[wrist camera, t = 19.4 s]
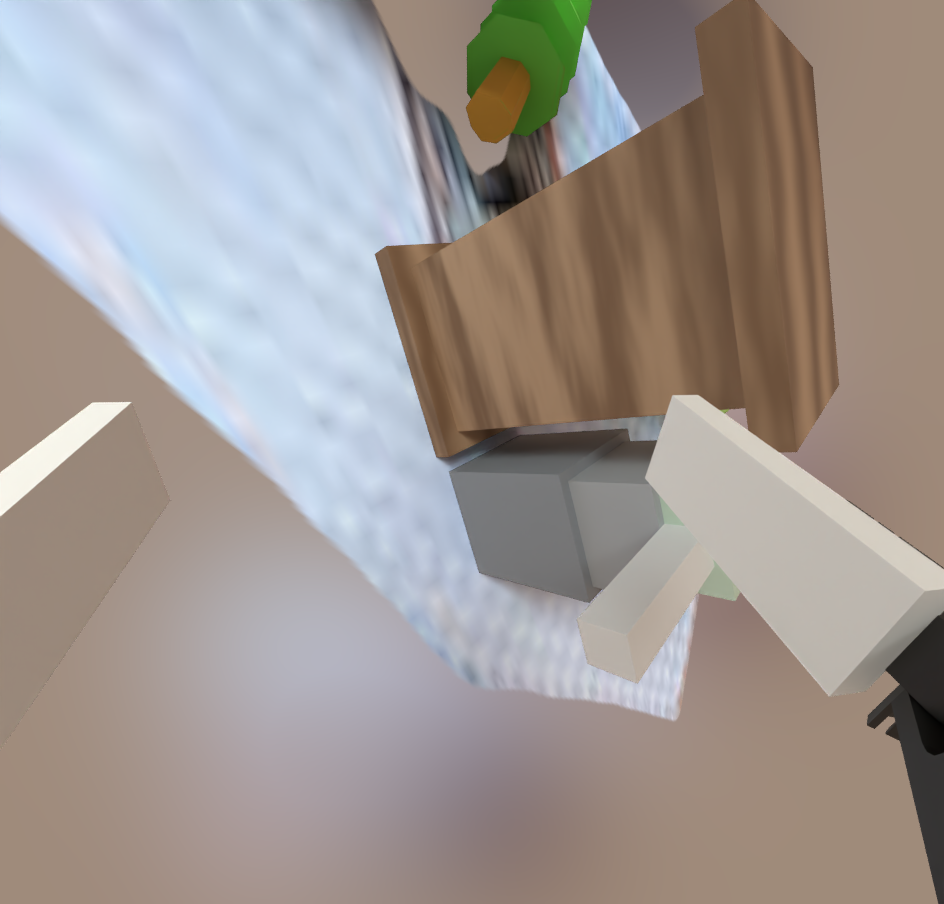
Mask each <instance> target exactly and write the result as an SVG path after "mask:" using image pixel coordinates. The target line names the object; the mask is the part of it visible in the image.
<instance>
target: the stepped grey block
mask: <svg viewBox="0 0 944 904" xmlns="http://www.w3.org/2000/svg"><path fill="white" fill-rule="evenodd" d="M656 443H657V440H654V441H630V439H629V434H628V429H614V430H598V431H582V432H566V433H550V434H534V435H520V436H518V437H516V438H514V439H512V440H510V441H508V442H506V443H504V444H502V445H500V446H498V447H497V448H495V449H493V450H491V451H489V452H487V453H485V454H483V455H481V456H479V457H477V458H475V459H473V460H471V461H469V462H467V463H465V464H463V465H461V466H459V467H457V468H456V469H454V470H452V471H450V472H449V473H450V477H451V480H452V483H453V487H454V490H455V493H456V497H457V500H458V503H459V507H460V510H461V513H462V517H463V520H464V524H465V527H466V530H467V534H468V537H469V540H470V544H471V547H472V550H473V554H474V557H475V560H476V564H477V567H478V570H479V573H483V574H487V575H490V576H494V577H497V578H501V579H505V580H508V581H512V582H515V583H519V584H523V585H526V586H530V587H534V588H537V589H541V590H544V591H548V592H552V593H555V594H559V595H563V596H566V597H570V598H573V599H577V600H581V601H584V602H588V603H590V602H591V600H592V599H593V598H594V597H595V596H596V595H597V594H598V593H599V592H600V591H601V590H602V589H605V588H606V587H607V586H608V585H609V584H610V583H611V581H612V580H613V579H614V578H615V577H616V576H617V575H618V574H619V573H620V572H621V571H622V569H623V568H624V567H625V566H626V565H627V564H628V563H629V562H630V561H631V560H632V559H633V557H634V556H635V555H636V554H637V553H638V552H639V551H640V550H641V549H642V548H643V547H644V545H645V544H646V543H647V542H648V541H649V540H650V539H651V538H652V537H653V536H654V535H655V533H656V532H657V531H658V530H659V529H660V528H661V527H662V526H663V525H664V519H663V513H662V508H661V503H660V497H659V494H658V493H657V492H656V491H655V490H654V488H653V487H652V486H651V485H650V484H649V482H648V481H647V480H646V479H645V476H646V473H647V470H648V467H649V464H650V461H651V458H652V455H653V452H654V449H655V446H656Z"/></svg>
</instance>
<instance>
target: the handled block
mask: <svg viewBox="0 0 944 904" xmlns="http://www.w3.org/2000/svg"><path fill="white" fill-rule="evenodd" d="M659 497H660V496H659ZM660 503H661V508H662V513H663V519H664V525H663V526H662V527H661V528H660V529H659V530H658V531H657V532H656V533H655V535H654V536H653V537H652V538H651V539H650V540H649V541H648V542H647V543H646V544H645V545H644V547H643V548H642V549H641V550H640V551H639V552H638V553H637V554H636V555H635V556H634V557H633V559H632V560H631V561H630V562H629V563H628V564H627V565H626V566H625V567H624V568H623V569H622V571H621V572H620V573H619V574H618V575H617V576H616V577H615V578H614V579H613V580H612V581H611V583H610V584H609V585H608V586H607V587H606V588H605V589H604V590H603V591H602V592H601V593H600V595H599V596H598V597H597V598H596V599H595V600H594V601H593V602H592V603H591V604H590V605H589V606H588V608H587V609H586V610H585V611H584V612H583V613H582V614H581V615H580V616H579V617H578V618H577V622H578V626H579V630H580V634H581V638H582V642H583V646H584V650H585V654H586V659H587V663H588V664H590V665H592V666H595V667H597V668H600V669H602V670H605V671H607V672H610V673H612V674H615V675H617V676H620V677H622V678H625V679H627V680H630V681H632V682H635V683H637V684H638V682H639V681H640V679H641V678H642V676H643V674H644V673H645V671H646V670H647V668H648V667H649V665H650V664H651V662H652V661H653V659H654V658H655V656H656V655H657V653H658V652H659V650H660V649H661V647H662V646H663V644H664V643H665V641H666V640H667V638H668V637H669V635H670V634H671V632H672V630H673V629H674V627H675V626H676V624H677V623H678V621H679V620H680V618H681V617H682V615H683V614H684V612H685V611H686V609H687V608H688V606H689V605H690V603H691V602H692V600H693V599H694V597H695V596H696V594H697V593H699V594H704V595H709V596H713V597H718V598H723V599H728V600H733V601H735V600H736V599H737V597H738V595H739V593H740V590H739V589H738V588H737V587H736V586H735V584H734V583H733V582H732V581H731V580H730V578H729V577H728V576H727V575H726V574H725V573H724V571H723V570H722V569H721V568H720V567H719V565H718V564H717V563H716V562H715V561H714V560H713V558H712V557H711V556H710V555H709V554H708V552H707V551H706V550H705V549H704V548H703V546H702V545H701V544H700V543H699V542H698V541H697V539H696V538H695V537H694V536H693V535H692V533H691V532H690V531H689V530H688V529H687V528H686V526H685V525H684V524H683V523H682V522H681V520H680V519H679V518H678V517H677V516H676V514H675V513H674V512H673V511H672V510H671V509H670V507H669V506H668V505H667V504H666V503H665V501H664V500H663V499H662V498H661V497H660Z"/></svg>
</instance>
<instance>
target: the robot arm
mask: <svg viewBox="0 0 944 904" xmlns="http://www.w3.org/2000/svg"><path fill="white" fill-rule="evenodd" d="M645 479H646V480H647V481H648V482H649V484H650V485H651V486H652V487H653V488H654V490H655V491H656V492H657V493H658V494H659V496H660V497H661V498H662V499H663V500H664V501H665V503H666V504H667V505H668V506H669V507H670V509H671V510H672V511H673V512H674V513H675V514H676V516H677V517H678V518H679V519H680V520H681V522H682V523H683V524H684V525H685V526H686V528H687V529H688V530H689V531H690V532H691V533H692V535H693V536H694V537H695V538H696V539H697V541H698V542H699V543H700V544H701V545H702V546H703V548H704V549H705V550H706V551H707V552H708V554H709V555H710V556H711V557H712V558H713V560H714V561H715V562H716V563H717V564H718V565H719V567H720V568H721V569H722V570H723V571H724V573H725V574H726V575H727V576H728V577H729V578H730V580H731V581H732V582H733V583H734V584H735V586H736V587H737V588H738V589H739V590H740V592H741V593H742V594H743V595H744V596H745V597H746V599H747V600H748V601H749V602H750V603H751V605H752V606H753V607H754V608H755V609H756V610H757V612H758V613H759V614H760V615H761V616H762V618H763V619H764V620H765V621H766V622H767V624H768V625H769V626H770V627H771V628H772V629H773V630H774V632H775V633H776V634H777V635H778V636H779V638H780V639H781V640H782V641H783V642H784V644H785V645H786V646H787V647H788V648H789V649H790V651H791V652H792V653H793V654H794V655H795V657H796V658H797V659H798V660H799V661H800V663H801V664H802V665H803V666H804V667H805V668H806V670H807V671H808V672H809V673H810V674H811V676H812V677H813V678H814V679H815V680H816V682H817V683H818V684H819V685H820V686H821V688H822V689H823V690H824V691H825V692H826V693H827V695H828V696H829V697H831V696H837V695H844V694H851V693H858V692H864V691H866V690H867V689H868V688H869V687H870V686H871V685H872V684H873V683H874V682H875V681H876V680H877V679H878V678H879V677H880V676H881V675H882V674H883V673H884V672H885V671H887V672H888V673H889V674H890V675H891V676H892V677H893V678H894V679H895V680H896V681H897V682H898V683H899V684H900V685H899V686H898V687H897V688H896V689H895V690H894V691H893V692H892V693H890V695H888V696H887V697H886V698H885V699H884V700H883V701H882V702H881V703H880V704H879V705H878V706H877V707H876V708H875V709H874V710H873V711H872V712H871V713H870V714H869V715H868V720H867V725H868V726H870V727H872V728H874V729H875V728H876V727H877V726H878V725H879V724H880V723H881V722H882V721H883V720H884V719H886V718H887V717H888V716H890V717H895V723H894V724H892V725H891V726H890V727H889V729H888V730H887V731H886V734H887V735H889V736H891V737H893V738H895V739H897V740H899V741H900V743H901V747H902V751H903V755H904V759H905V764H906V768H907V772H908V777H909V781H910V785H911V789H912V793H913V798H914V802H915V806H916V810H917V815H918V819H919V823H920V827H921V832H922V836H923V840H924V844H925V849H926V853H927V857H928V861H929V866H930V870H931V874H932V878H933V883H934V887H935V891H936V895H937V899H938V904H944V568H943V567H942V566H940V565H939V564H938V563H936V562H935V561H933V560H932V559H930V558H929V557H928V556H926V555H925V554H923V553H922V552H921V551H919V550H918V549H916V548H915V547H913V546H912V545H911V544H909V543H908V542H906V541H905V540H903V539H902V538H901V537H897V536H896V535H895V534H894V533H893V532H892V531H891V530H889V529H888V528H886V527H885V526H884V525H882V524H881V523H880V522H876V521H875V520H874V518H872V517H871V516H870V515H868V514H867V513H865V512H864V511H863V510H861V509H860V508H858V507H857V506H855V505H854V504H853V503H851V502H850V501H848V500H846V499H844V498H842V497H841V496H840V495H838V494H837V493H835V492H834V491H833V490H831V489H830V488H828V487H827V486H826V485H824V484H823V483H821V482H820V481H819V480H817V479H816V478H814V477H813V476H811V475H810V474H809V473H807V472H806V471H804V470H803V469H802V468H800V467H799V466H797V465H796V464H795V463H793V462H792V461H790V460H789V459H787V458H786V457H784V456H783V455H782V454H780V453H779V452H778V451H776V450H775V449H773V448H772V447H771V446H769V445H768V444H766V443H765V442H764V441H762V440H761V439H759V438H758V437H757V436H755V435H754V434H752V433H751V432H750V431H748V430H746V429H745V428H744V427H742V426H741V425H740V424H738V423H737V422H735V421H734V420H733V419H731V418H730V417H728V416H727V415H725V414H724V413H723V412H721V411H720V410H719V409H717V408H716V407H714V406H713V405H711V404H710V403H709V402H707V401H706V400H704V399H703V398H702V397H700V396H699V395H672V398H671V401H670V404H669V407H668V410H667V413H666V416H665V419H664V422H663V425H662V428H661V431H660V434H659V437H658V440H657V443H656V446H655V449H654V452H653V455H652V458H651V461H650V464H649V467H648V470H647V473H646V476H645ZM169 502H170V498H169V496H168V493H167V490H166V488H165V485H164V483H163V480H162V478H161V475H160V473H159V470H158V468H157V465H156V462H155V460H154V457H153V455H152V452H151V450H150V447H149V445H148V442H147V440H146V437H145V435H144V432H143V429H142V427H141V424H140V422H139V419H138V417H137V414H136V412H135V409H134V406H133V404H132V402H105V403H104V402H102V403H92V404H90V405H89V406H88V407H86V408H85V409H84V410H82V411H81V412H80V413H78V414H77V415H76V416H74V417H73V418H72V419H70V420H69V421H68V422H66V423H65V424H64V425H62V426H61V427H60V428H58V429H57V430H56V431H55V432H53V433H52V434H51V435H49V436H48V437H47V438H45V439H44V440H43V441H41V442H40V443H39V444H37V445H36V446H35V447H33V448H32V449H31V450H29V451H28V452H27V453H26V454H24V455H23V456H22V457H20V458H19V459H18V460H16V461H15V462H14V463H12V464H11V465H10V466H8V467H7V468H6V469H4V470H3V471H2V472H0V750H1V749H2V747H3V746H4V744H5V743H6V741H7V740H8V739H9V737H10V736H11V734H12V733H13V731H14V730H15V728H16V727H17V725H18V724H19V722H20V721H21V719H22V718H23V716H24V715H25V713H26V712H27V711H28V709H29V708H30V706H31V705H32V703H33V702H34V700H35V699H36V697H37V696H38V694H39V693H40V691H41V690H42V689H43V687H44V685H45V684H46V683H47V681H48V680H49V678H50V677H51V675H52V674H53V672H54V671H55V669H56V668H57V667H58V665H59V664H60V662H61V661H62V659H63V658H64V656H65V655H66V653H67V652H68V650H69V649H70V647H71V646H72V644H73V643H74V642H75V640H76V639H77V637H78V636H79V634H80V633H81V631H82V630H83V628H84V627H85V625H86V624H87V622H88V621H89V619H90V618H91V616H92V615H93V613H94V612H95V611H96V609H97V607H98V606H99V605H100V603H101V602H102V600H103V599H104V597H105V596H106V594H107V593H108V592H109V590H110V588H111V587H112V586H113V584H114V583H115V581H116V580H117V578H118V577H119V575H120V574H121V572H122V571H123V569H124V568H125V567H126V565H127V564H128V562H129V561H130V559H131V558H132V556H133V555H134V553H135V552H136V550H137V549H138V547H139V546H140V544H141V543H142V541H143V540H144V539H145V537H146V535H147V534H148V533H149V531H150V530H151V528H152V527H153V525H154V524H155V522H156V521H157V519H158V518H159V517H160V515H161V513H162V512H163V511H164V509H165V508H166V506H167V505H168V503H169Z"/></svg>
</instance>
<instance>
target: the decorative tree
mask: <svg viewBox="0 0 944 904" xmlns="http://www.w3.org/2000/svg"><path fill="white" fill-rule="evenodd" d="M591 2H592V0H497V1H496V2H495V3H494V4H493V5H492V12H491V13H490V14H489V16H488V17H487V18H486V19H485V20H484V21H483V22H482V23H481V31H480V33H479V34H478V35H477V36H476V37H475V38H474V39H473V40H472V41H471V42H470V43H469V45H468V46H467V93H468V95H469V96H470V98H471V100H470V102H469V104H468V105H467V107H466V110H467V113H468V117H469V120H470V124H471V127H472V129H473V130H474V131H475V133H476V134H477V135H478V137H479V138H480V140H481V141H485V142H491V143H498V142H499V141H501V140H502V139H503V138H505V137H506V136H508V135H509V134H510V133H514V134H518V135H522V136H526V137H527V136H528V135H530V134H531V133H533V132H534V131H535V130H537V129H538V128H539V127H541V126H542V125H544V124H545V123H546V122H548V121H549V120H551V119H552V118H553V117H555V116H556V115H557V112H558V107H559V101H560V97H562V96H563V95H564V94H566V93H567V91H568V86H569V80H570V79H571V78H573V77H574V76H575V72H576V67H577V61H578V56H579V51H580V46H581V42H582V37H583V32H584V27H585V25H587V23H588V17H589V12H590V7H591Z"/></svg>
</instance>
